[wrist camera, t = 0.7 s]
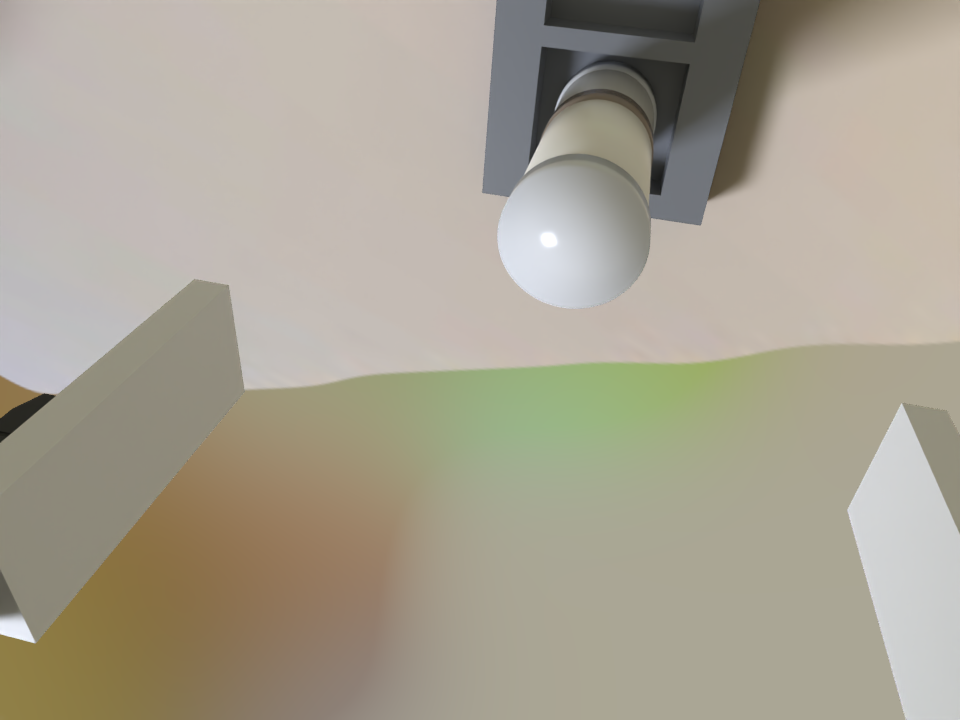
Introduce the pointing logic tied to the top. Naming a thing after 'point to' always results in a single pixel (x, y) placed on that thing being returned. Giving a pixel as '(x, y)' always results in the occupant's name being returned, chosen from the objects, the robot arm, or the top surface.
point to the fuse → (585, 192)
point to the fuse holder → (641, 44)
